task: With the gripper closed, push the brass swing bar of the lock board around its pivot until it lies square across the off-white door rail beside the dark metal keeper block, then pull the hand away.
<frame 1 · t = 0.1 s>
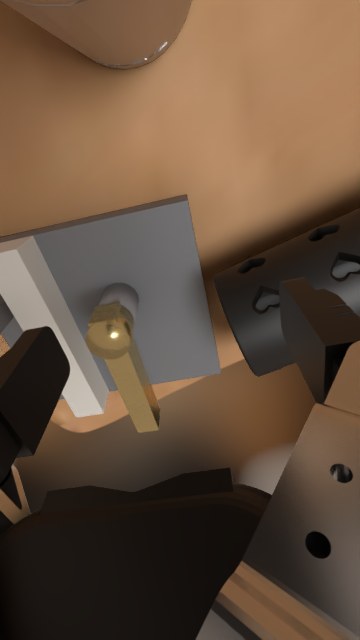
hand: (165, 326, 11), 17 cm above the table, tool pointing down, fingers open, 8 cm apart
swing bar: (129, 375, 26), point 7 cm above the table, hinge at 0.0°
lock board: (106, 310, 31), on the table
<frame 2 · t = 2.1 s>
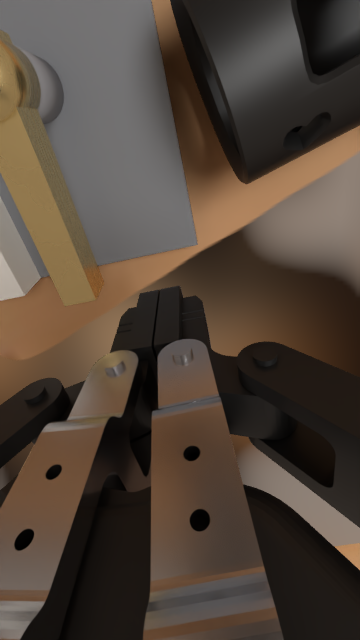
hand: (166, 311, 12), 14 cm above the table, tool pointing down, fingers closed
swing bar: (39, 191, 16), point 7 cm above the table, hinge at 0.0°
lock board: (26, 139, 21), on the table
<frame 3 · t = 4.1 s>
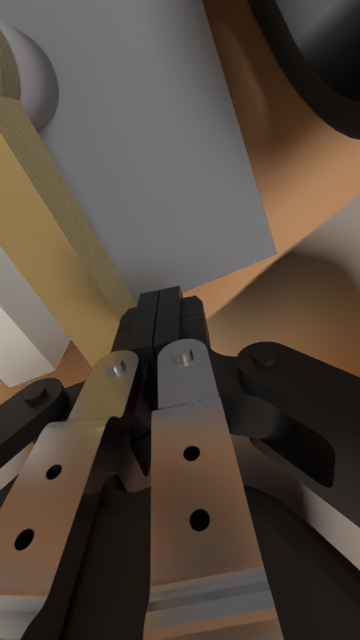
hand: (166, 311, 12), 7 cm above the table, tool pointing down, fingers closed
swing bar: (43, 229, 10), point 7 cm above the table, hinge at 0.9°, touching gripper
lock board: (21, 160, 15), on the table
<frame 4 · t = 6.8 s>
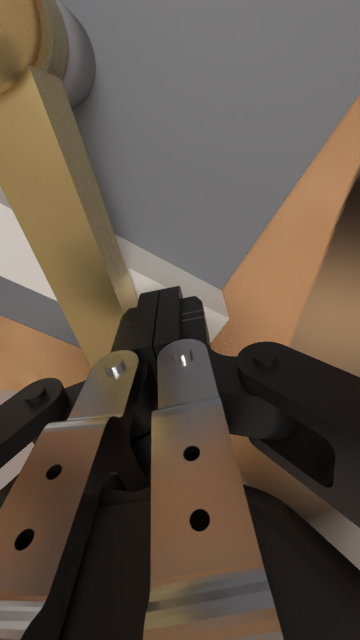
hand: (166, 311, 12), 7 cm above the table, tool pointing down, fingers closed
swing bar: (63, 213, 10), point 7 cm above the table, hinge at 47.4°, touching gripper
lock board: (91, 151, 15), on the table
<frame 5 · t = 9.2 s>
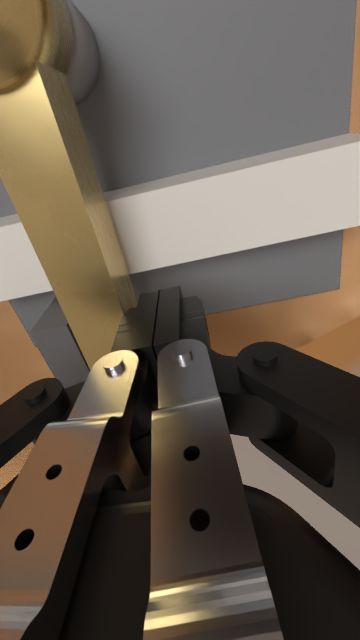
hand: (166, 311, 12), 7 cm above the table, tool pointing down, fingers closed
swing bar: (65, 210, 10), point 7 cm above the table, hinge at 90.9°, touching gripper
lock board: (133, 120, 14), on the table
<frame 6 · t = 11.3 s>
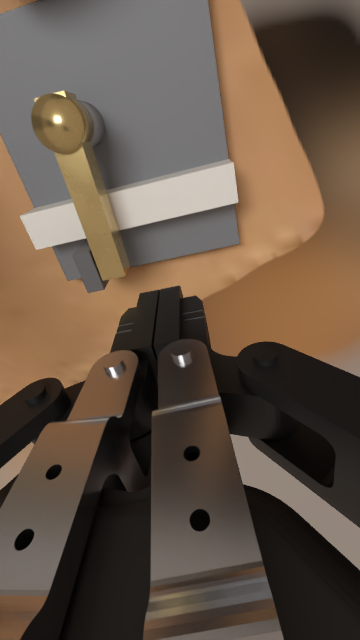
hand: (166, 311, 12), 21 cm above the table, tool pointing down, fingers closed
swing bar: (89, 197, 23), point 7 cm above the table, hinge at 90.8°
lock board: (122, 151, 28), on the table
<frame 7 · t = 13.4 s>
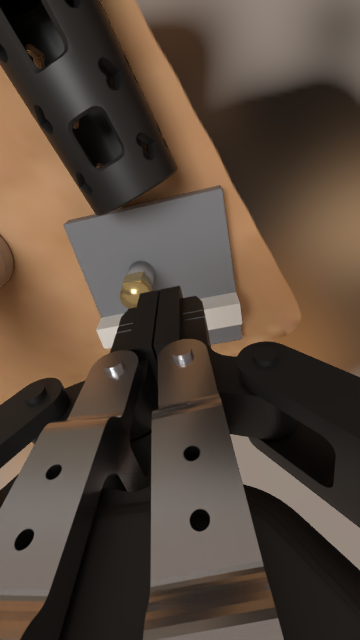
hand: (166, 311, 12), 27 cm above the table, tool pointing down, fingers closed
swing bar: (147, 326, 36), point 7 cm above the table, hinge at 90.8°
lock board: (163, 281, 41), on the table
muzzle brake: (64, 35, 28), on the table
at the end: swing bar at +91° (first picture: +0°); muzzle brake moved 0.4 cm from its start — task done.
